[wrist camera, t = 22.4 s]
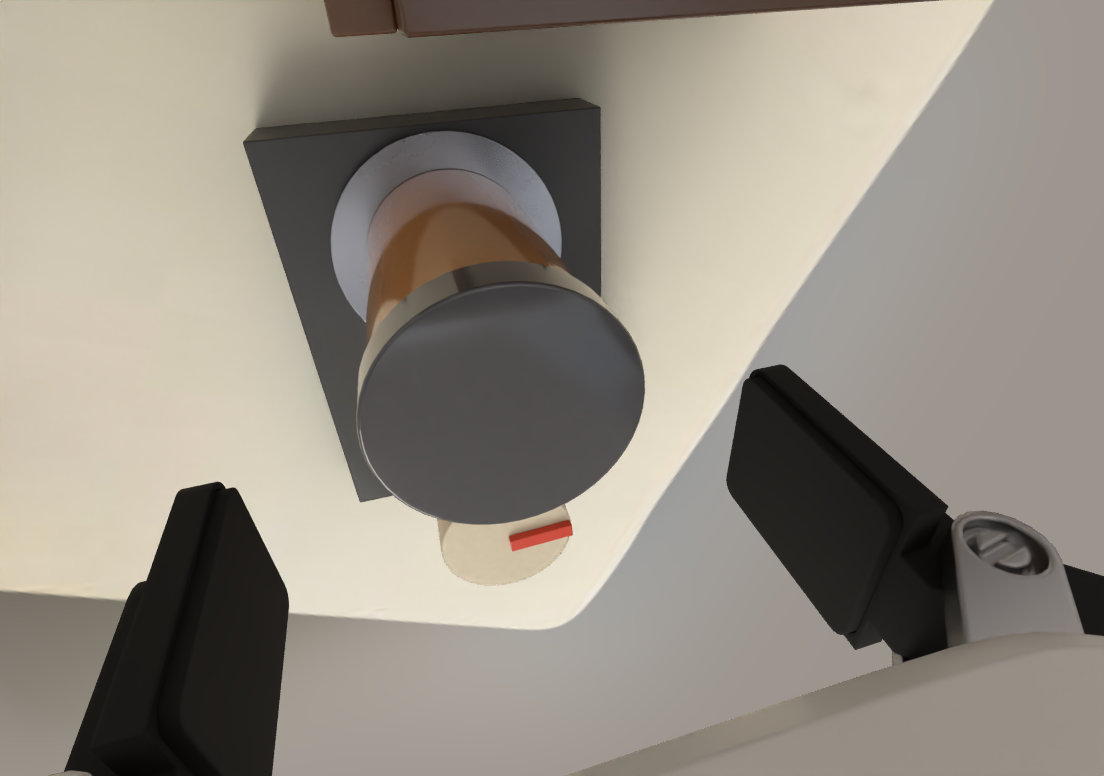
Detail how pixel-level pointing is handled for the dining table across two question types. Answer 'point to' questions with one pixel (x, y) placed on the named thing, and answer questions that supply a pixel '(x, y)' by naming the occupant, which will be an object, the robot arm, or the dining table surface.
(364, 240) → the pale grey disc
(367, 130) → the hot plate
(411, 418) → the jar
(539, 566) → the knob
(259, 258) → the dining table surface
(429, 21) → the shelf
